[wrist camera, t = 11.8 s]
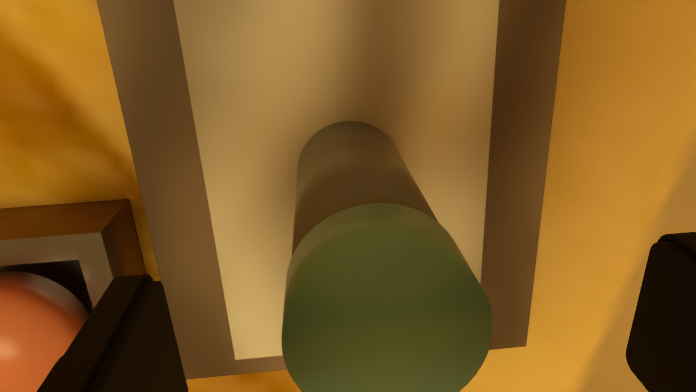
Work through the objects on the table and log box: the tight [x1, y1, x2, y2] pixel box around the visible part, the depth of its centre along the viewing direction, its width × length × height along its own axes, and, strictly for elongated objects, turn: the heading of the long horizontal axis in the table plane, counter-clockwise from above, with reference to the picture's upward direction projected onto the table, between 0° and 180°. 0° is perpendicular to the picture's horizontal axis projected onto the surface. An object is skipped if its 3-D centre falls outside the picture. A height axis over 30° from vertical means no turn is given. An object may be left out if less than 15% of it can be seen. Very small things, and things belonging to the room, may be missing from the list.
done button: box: [0, 271, 89, 392], centre depth 18 cm, size 5×5×2 cm
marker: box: [281, 121, 493, 392], centre depth 14 cm, size 4×4×10 cm
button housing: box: [0, 199, 146, 315], centre depth 20 cm, size 8×8×3 cm
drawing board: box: [97, 0, 566, 379], centre depth 20 cm, size 16×19×1 cm
